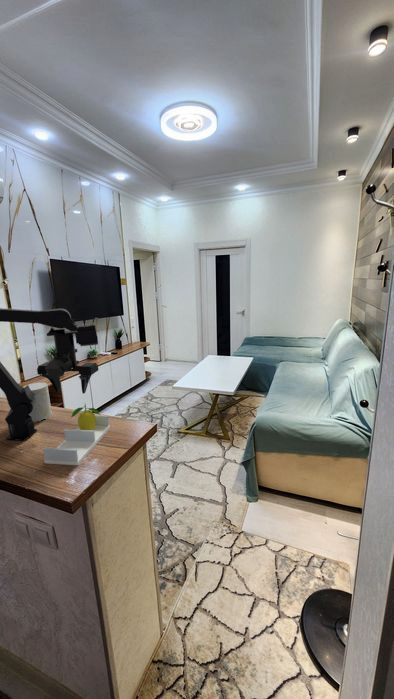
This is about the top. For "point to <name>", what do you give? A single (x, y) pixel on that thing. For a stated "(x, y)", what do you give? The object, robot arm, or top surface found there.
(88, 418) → the lemon
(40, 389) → the cup
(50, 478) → the top surface
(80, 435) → the white divided tray
